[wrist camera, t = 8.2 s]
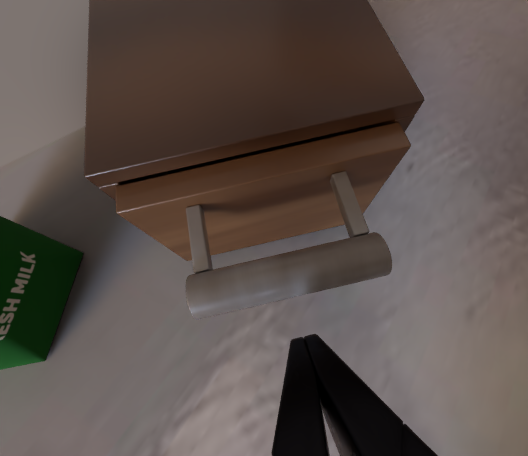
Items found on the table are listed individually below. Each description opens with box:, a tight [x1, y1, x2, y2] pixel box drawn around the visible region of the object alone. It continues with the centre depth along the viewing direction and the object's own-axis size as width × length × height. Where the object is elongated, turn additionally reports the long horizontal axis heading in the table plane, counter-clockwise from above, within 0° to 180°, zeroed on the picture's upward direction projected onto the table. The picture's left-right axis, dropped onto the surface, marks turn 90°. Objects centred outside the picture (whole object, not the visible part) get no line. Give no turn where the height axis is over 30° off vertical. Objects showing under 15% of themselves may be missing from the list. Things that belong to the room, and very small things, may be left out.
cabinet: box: [84, 0, 424, 200], centre depth 17 cm, size 15×13×10 cm
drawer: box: [116, 122, 411, 320], centre depth 15 cm, size 18×11×8 cm, turn 12°
